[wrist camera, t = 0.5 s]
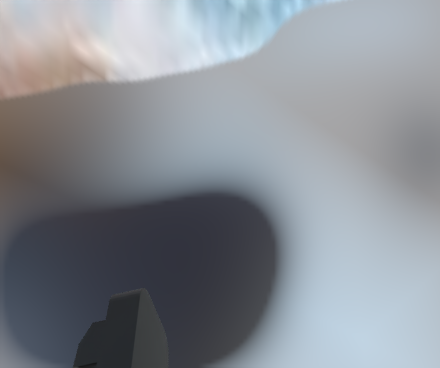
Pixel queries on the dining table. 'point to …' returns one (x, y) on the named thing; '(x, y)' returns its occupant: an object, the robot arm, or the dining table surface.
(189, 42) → the dining table surface
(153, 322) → the robot arm
